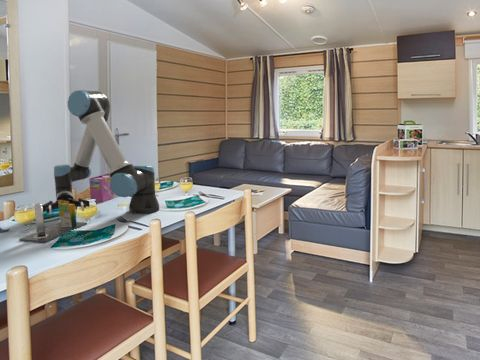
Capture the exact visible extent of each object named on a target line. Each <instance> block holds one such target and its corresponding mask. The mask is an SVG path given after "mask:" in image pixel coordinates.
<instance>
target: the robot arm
mask: <svg viewBox="0 0 480 360" xmlns="http://www.w3.org/2000/svg"><path fill="white" fill-rule="evenodd" d="M67 99H68V100H67V102H66V103H67V109H68V111H69V112H70V114H71V115H73V116H75V117H78V119H79V121H80V123H81V124H83V125H85V126H86V127H85V129H84V132H83V135H82V139H81V141H80V145H79V148H78V151H77V154H76V157H75V160H74V164H73V166H71V165H69V164H57V165H54V167H53V176H54V186H55V189H54V190H55V199H56V200H55V202H54V201H53V200H49V201H48V202H46V203H44V204H41V205H42V208H43V212H46V213H47V214H49V215H52V211H53V210H56V209H59V205H58V200H63V201H69V204H75V207H78V208H81V211H82V212H84V211H85V208H87V207H88V208H89V207H90V201H89V200H86V199H83V198H81V197H79V198H78V199H77V200H76V199H75V198H74V195H73V182H77V181H83V180H85V179H87V178H89V177H90V176H91V175H92V169H91V167H90V165H91V163H92V160H93V156H94V154H95V151H96V149H97V148H98V149H99V152H100V153H101V155H102V158H103V159H104V161H105V162H106V164H107V167H108V169H109V176H110V177H111V179H110V188H111V190H112V191H113V192H114V193H115V194H116V195H117V196H119V197H120V198H121V197H122V198H128V197H131V198H130V202H129V206H128V212H129V213H130V214H131V213H132V214H138V215H139V214H140V215H141V214H142V215H143V214H144V215H145V214H150V213H155V212H158V211H160V203H159V200H158V198H157V196H156V183H155V182H156V179H155V168H154V167H153V166H151V165H133V163H132V162H128V161H127V159H126V157H125V154H124V153H123V151H122V149H121V147H120V145H119V143H118V142H117V140H116V139H115V136H114V135H113V133H112V131H111V129H110V127H109V124H108V123H107V122H108V119H109V116H110V112H111V103H110V99H109V98H108V97H107V95H106V94H104V93H103V92H101V91H98V90H95V91H94V90H85V89H81V90H79V89H77V90H74V91H73V92H71V93H70V94H69V96H68V98H67ZM61 203H66V202H61Z"/></svg>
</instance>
